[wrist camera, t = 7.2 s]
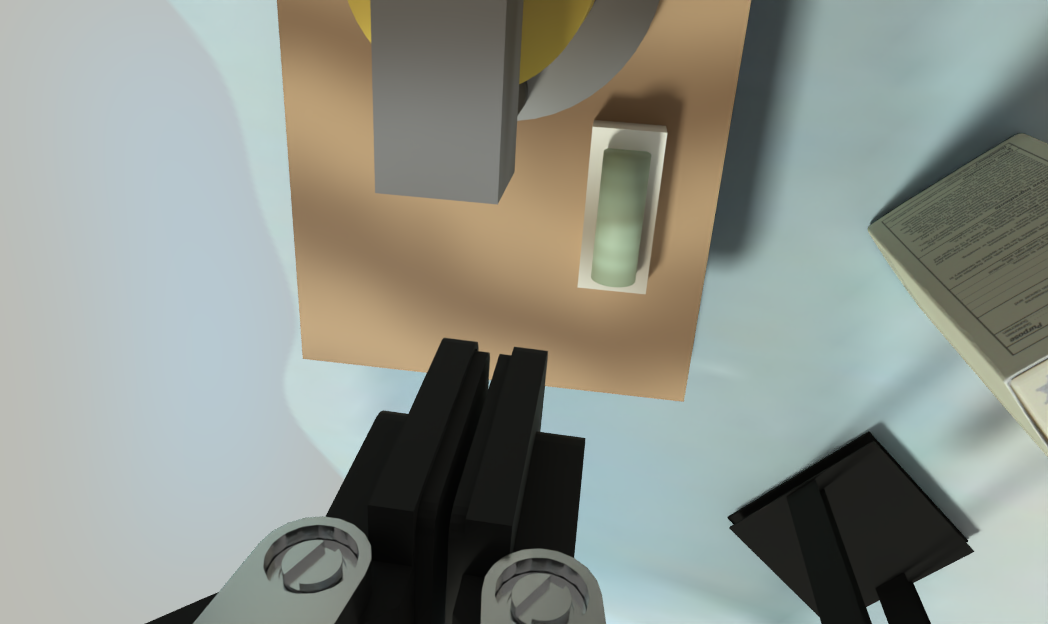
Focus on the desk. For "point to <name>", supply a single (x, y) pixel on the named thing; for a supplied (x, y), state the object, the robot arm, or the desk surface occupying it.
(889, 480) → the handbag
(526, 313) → the level plate
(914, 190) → the desk surface
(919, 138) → the desk surface
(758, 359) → the desk surface
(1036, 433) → the skincare box
